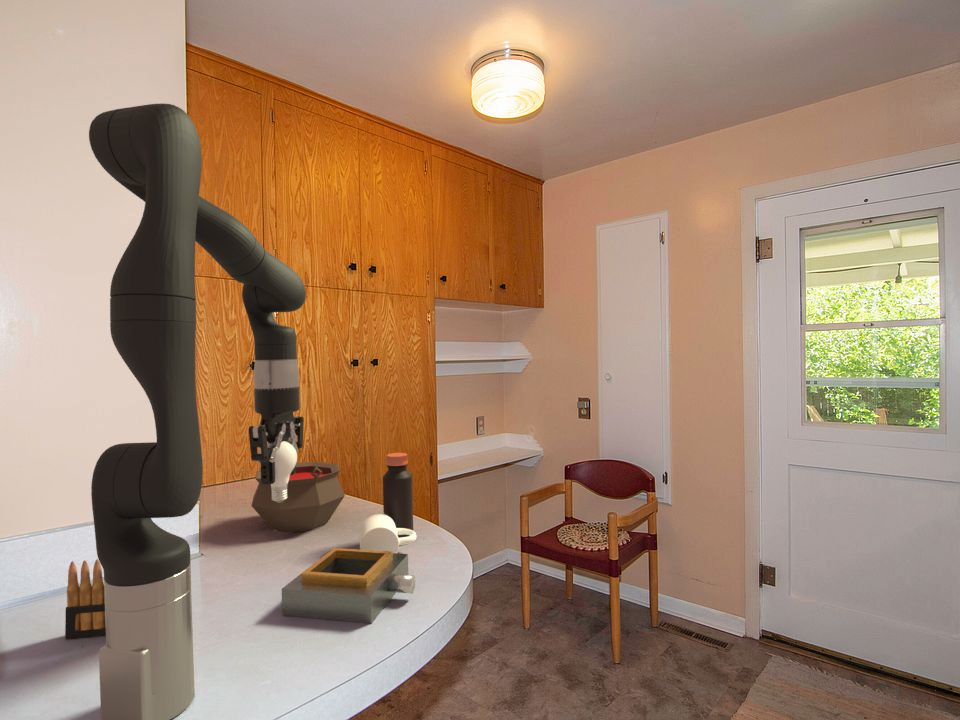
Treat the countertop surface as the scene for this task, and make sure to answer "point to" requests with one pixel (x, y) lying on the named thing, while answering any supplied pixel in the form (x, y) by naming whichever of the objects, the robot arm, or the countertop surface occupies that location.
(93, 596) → the ammunition clip
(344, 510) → the countertop surface
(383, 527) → the mug
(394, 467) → the bottle
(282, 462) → the lightbulb
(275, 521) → the brown cauldron
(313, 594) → the grey shallow box
